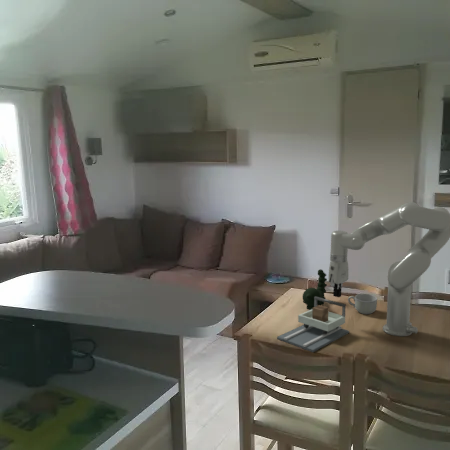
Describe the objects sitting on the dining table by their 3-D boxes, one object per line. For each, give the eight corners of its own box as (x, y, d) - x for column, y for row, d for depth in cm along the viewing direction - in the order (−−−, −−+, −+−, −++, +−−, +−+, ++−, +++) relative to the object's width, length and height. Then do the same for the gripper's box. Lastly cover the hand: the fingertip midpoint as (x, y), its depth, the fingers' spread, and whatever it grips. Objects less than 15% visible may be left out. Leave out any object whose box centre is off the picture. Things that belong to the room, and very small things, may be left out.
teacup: (379, 310, 238) (379, 295, 237) (373, 317, 229) (373, 301, 228) (351, 306, 246) (352, 291, 244) (345, 312, 237) (345, 297, 235)
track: (349, 332, 212) (349, 329, 212) (313, 352, 194) (313, 348, 193) (313, 321, 226) (313, 318, 225) (277, 339, 207) (277, 335, 207)
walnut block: (321, 323, 209) (321, 310, 208) (312, 320, 212) (312, 307, 211) (328, 320, 212) (328, 307, 211) (318, 317, 216) (319, 305, 215)
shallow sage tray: (345, 328, 212) (345, 303, 210) (328, 337, 203) (328, 311, 201) (315, 319, 224) (315, 295, 222) (298, 327, 215) (298, 303, 213)
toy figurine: (313, 301, 259) (297, 311, 238) (315, 266, 258) (298, 274, 236) (330, 303, 255) (315, 314, 233) (332, 268, 253) (316, 276, 231)
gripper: (336, 262, 209) (334, 302, 213) (354, 256, 219) (352, 294, 223) (322, 259, 215) (320, 298, 218) (340, 253, 225) (339, 290, 228)
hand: (337, 296), depth 220 cm, fingers closed
